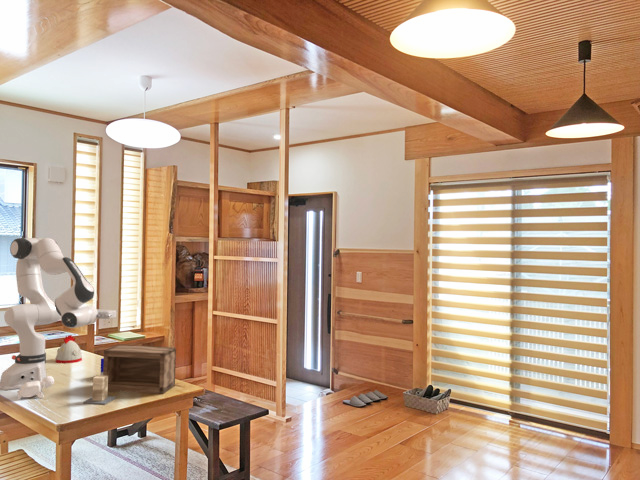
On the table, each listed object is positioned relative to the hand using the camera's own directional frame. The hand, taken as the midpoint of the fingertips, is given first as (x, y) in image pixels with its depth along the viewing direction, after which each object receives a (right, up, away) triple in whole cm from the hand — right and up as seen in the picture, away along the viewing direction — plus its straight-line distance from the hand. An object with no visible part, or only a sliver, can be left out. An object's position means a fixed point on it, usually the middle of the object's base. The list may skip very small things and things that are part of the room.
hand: (103, 311), depth 262 cm
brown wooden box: (+23, -35, -12) cm, 44 cm away
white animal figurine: (-18, -35, -29) cm, 49 cm away
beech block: (+13, -34, -33) cm, 49 cm away
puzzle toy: (+3, -35, +7) cm, 36 cm away
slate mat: (+13, -35, -33) cm, 50 cm away
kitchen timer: (-37, -35, +41) cm, 65 cm away
